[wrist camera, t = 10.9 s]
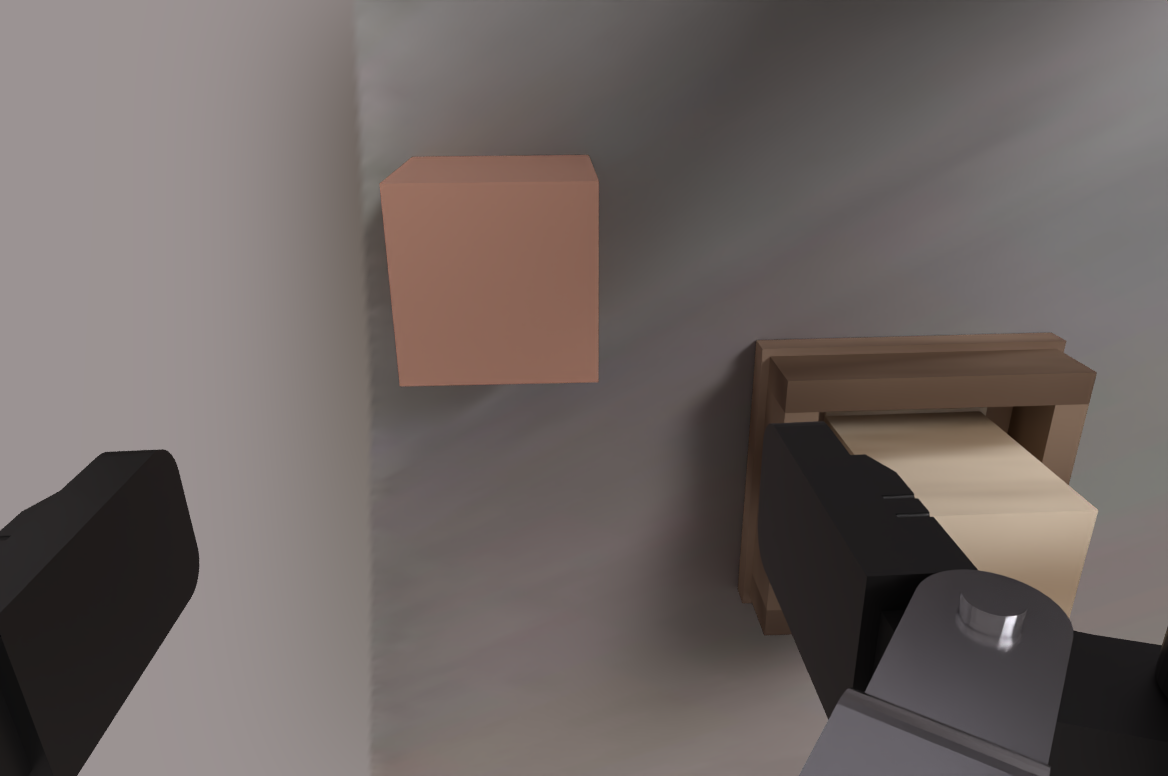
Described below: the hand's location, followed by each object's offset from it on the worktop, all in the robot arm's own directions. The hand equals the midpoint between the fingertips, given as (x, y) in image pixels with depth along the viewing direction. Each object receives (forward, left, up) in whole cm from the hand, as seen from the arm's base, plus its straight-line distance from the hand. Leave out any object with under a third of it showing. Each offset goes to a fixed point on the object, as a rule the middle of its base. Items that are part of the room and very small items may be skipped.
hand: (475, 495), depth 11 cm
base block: (+8, +12, -13) cm, 20 cm away
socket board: (+8, +12, -14) cm, 20 cm away
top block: (0, 0, -14) cm, 14 cm away
